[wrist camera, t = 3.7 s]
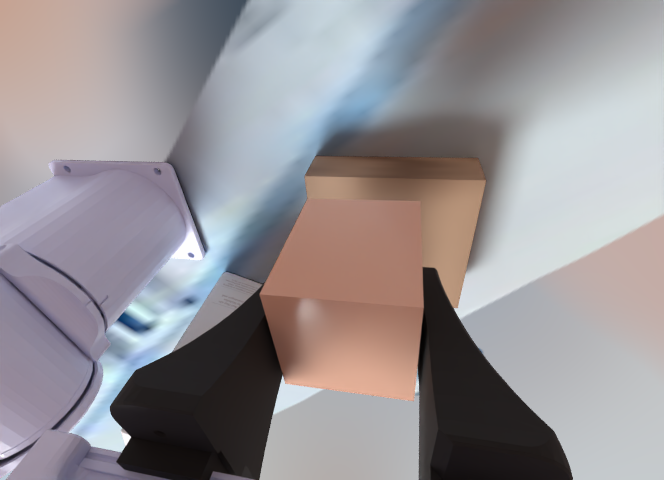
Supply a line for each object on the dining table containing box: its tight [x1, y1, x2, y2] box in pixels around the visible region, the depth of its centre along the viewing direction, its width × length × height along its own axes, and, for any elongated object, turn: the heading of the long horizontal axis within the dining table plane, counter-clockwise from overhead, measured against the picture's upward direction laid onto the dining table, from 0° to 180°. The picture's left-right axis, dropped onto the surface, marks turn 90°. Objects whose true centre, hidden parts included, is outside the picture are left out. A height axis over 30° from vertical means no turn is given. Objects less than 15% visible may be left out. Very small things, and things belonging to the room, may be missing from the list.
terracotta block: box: [260, 199, 424, 401], centre depth 13 cm, size 4×4×6 cm
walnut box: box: [305, 156, 486, 308], centre depth 21 cm, size 9×9×3 cm
